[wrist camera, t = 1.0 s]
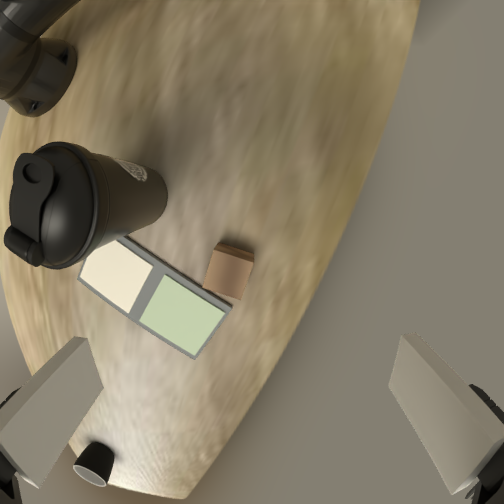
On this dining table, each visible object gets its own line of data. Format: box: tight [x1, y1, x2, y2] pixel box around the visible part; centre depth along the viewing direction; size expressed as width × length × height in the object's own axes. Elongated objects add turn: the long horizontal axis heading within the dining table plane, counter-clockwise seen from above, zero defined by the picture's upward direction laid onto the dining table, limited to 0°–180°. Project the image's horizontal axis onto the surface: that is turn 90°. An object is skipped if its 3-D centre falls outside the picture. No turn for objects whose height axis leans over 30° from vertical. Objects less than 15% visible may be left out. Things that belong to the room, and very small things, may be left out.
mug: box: [73, 442, 114, 486], centre depth 45 cm, size 12×9×10 cm
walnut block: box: [202, 242, 254, 300], centre depth 36 cm, size 5×5×5 cm
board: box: [77, 236, 232, 360], centre depth 39 cm, size 23×11×1 cm, turn 56°
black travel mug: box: [4, 142, 168, 269], centre depth 25 cm, size 10×10×23 cm
